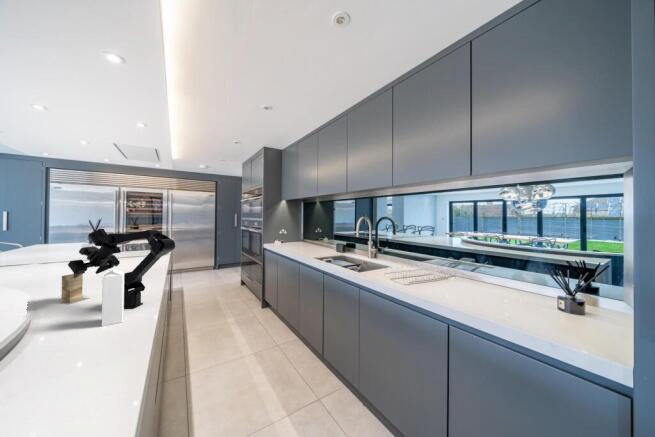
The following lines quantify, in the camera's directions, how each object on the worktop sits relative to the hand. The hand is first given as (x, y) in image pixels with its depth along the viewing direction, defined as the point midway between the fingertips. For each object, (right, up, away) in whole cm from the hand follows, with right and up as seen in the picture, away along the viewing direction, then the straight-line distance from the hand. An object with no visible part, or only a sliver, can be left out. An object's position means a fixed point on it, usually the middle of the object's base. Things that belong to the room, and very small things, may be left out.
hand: (85, 275), depth 115 cm
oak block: (-8, -13, +1) cm, 15 cm away
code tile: (-8, -13, +1) cm, 16 cm away
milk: (+32, -14, -21) cm, 40 cm away
